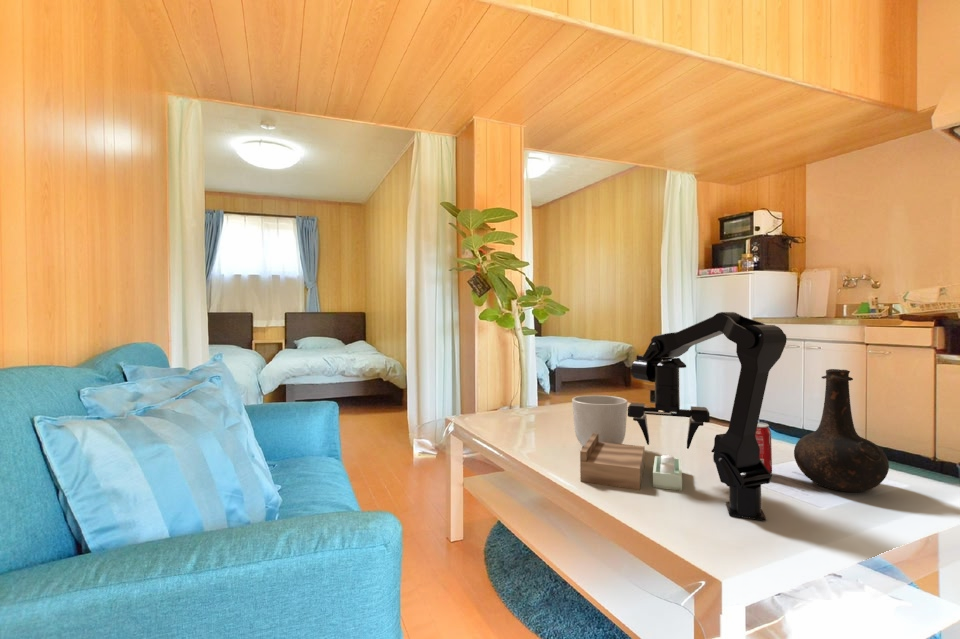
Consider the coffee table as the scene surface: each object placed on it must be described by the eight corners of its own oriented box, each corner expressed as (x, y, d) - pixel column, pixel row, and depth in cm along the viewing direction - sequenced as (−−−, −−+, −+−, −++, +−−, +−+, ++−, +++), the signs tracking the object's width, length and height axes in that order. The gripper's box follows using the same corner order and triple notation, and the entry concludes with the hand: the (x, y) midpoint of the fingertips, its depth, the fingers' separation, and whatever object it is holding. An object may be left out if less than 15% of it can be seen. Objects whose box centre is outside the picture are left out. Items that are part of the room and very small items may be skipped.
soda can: (777, 479, 111) (776, 427, 111) (745, 477, 112) (745, 426, 113) (765, 470, 118) (764, 421, 118) (735, 468, 119) (735, 420, 119)
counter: (639, 489, 105) (639, 458, 105) (580, 481, 111) (580, 451, 111) (644, 464, 123) (644, 437, 123) (593, 458, 129) (593, 432, 129)
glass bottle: (843, 503, 96) (841, 375, 96) (776, 475, 114) (775, 366, 114) (911, 497, 99) (910, 372, 99) (835, 471, 117) (834, 365, 117)
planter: (595, 458, 129) (595, 406, 129) (561, 444, 144) (561, 397, 144) (640, 451, 136) (639, 401, 136) (603, 438, 151) (603, 393, 151)
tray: (682, 490, 104) (681, 471, 104) (652, 486, 107) (652, 467, 107) (681, 472, 117) (680, 454, 117) (655, 468, 119) (654, 451, 119)
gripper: (706, 382, 115) (706, 442, 115) (630, 379, 123) (631, 435, 123) (709, 388, 105) (710, 453, 105) (627, 384, 113) (627, 445, 113)
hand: (667, 446), depth 112 cm, fingers open, 9 cm apart
